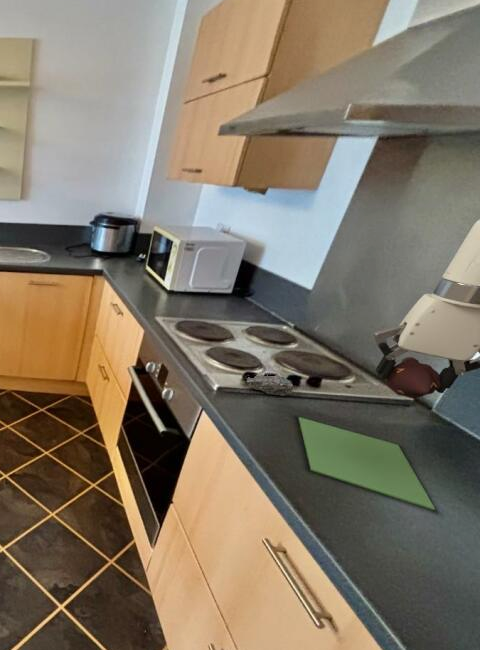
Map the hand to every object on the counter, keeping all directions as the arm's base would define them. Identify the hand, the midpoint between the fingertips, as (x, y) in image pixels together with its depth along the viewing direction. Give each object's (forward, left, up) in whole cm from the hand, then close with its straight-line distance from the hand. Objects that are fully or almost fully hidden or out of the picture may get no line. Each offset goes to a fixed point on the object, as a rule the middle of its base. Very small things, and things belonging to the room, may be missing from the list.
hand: (408, 382), depth 78 cm
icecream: (0, 0, -3) cm, 3 cm away
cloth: (+1, +2, -17) cm, 18 cm away
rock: (+16, -21, -18) cm, 32 cm away
